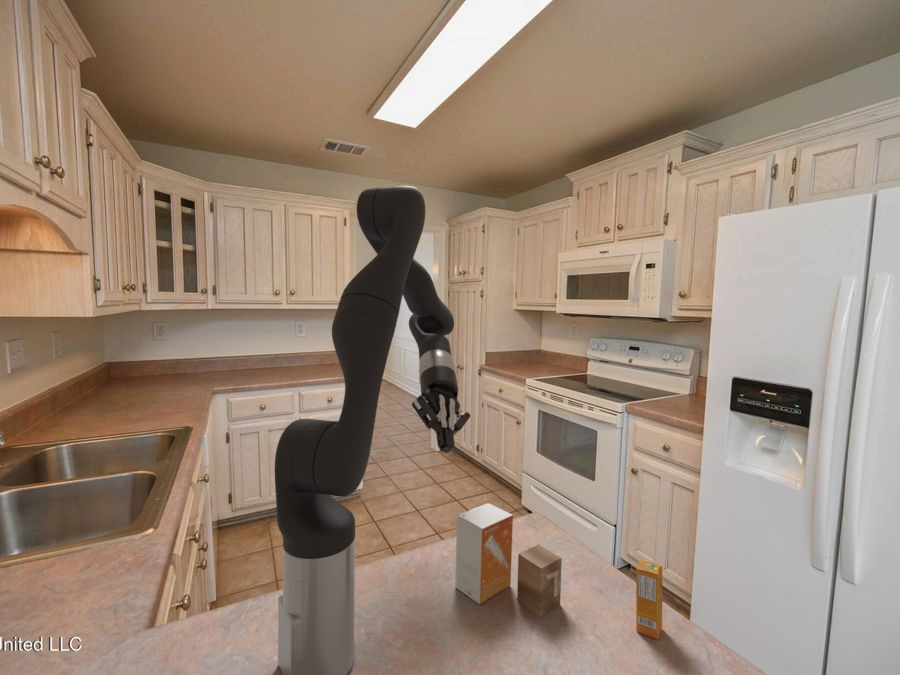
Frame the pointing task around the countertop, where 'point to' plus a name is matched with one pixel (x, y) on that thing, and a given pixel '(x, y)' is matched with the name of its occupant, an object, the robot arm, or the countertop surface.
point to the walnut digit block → (539, 579)
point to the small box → (483, 552)
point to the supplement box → (649, 599)
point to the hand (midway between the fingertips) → (446, 450)
